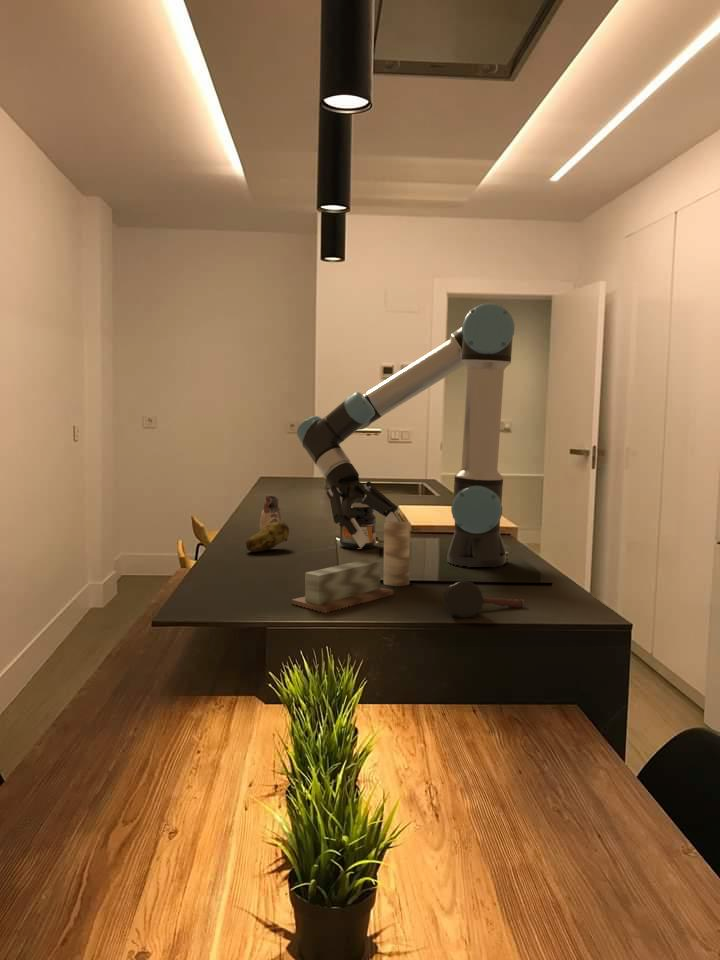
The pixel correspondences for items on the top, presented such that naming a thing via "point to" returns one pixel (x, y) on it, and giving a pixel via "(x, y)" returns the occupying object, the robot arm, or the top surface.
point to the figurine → (270, 511)
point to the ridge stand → (342, 586)
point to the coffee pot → (472, 600)
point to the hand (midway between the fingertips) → (384, 540)
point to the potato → (268, 537)
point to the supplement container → (366, 523)
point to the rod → (396, 553)
